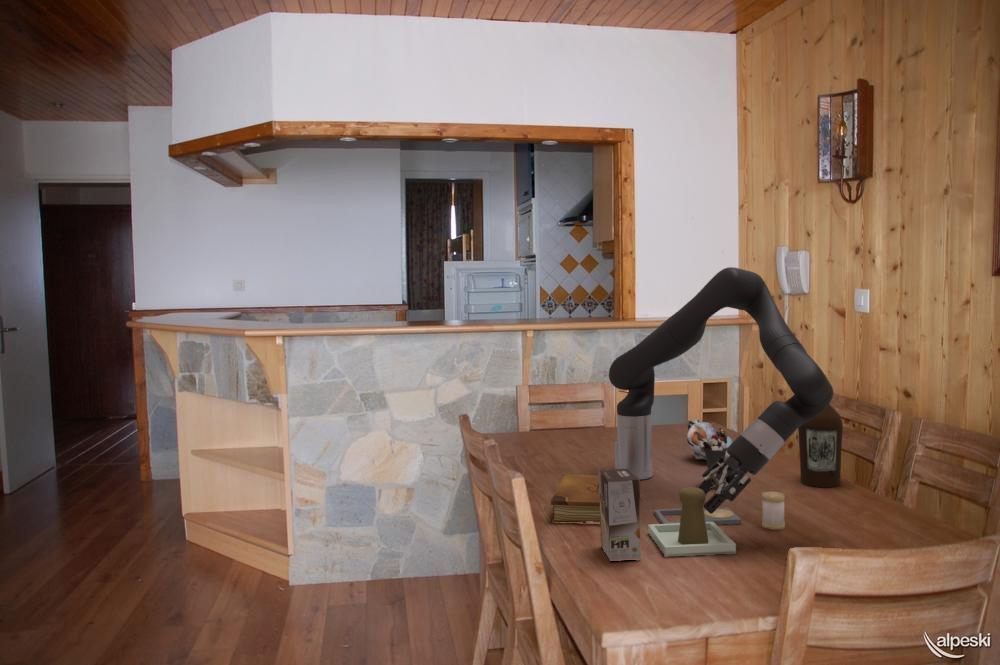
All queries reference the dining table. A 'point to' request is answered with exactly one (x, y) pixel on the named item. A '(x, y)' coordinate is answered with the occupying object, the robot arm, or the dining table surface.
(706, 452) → the sundae
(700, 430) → the lucky cat figurine
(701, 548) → the parts tray
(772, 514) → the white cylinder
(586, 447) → the dining table surface
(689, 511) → the cork
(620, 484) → the coffee box
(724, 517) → the socket block
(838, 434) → the olive oil
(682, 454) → the dining table surface
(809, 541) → the dining table surface
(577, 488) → the diary
